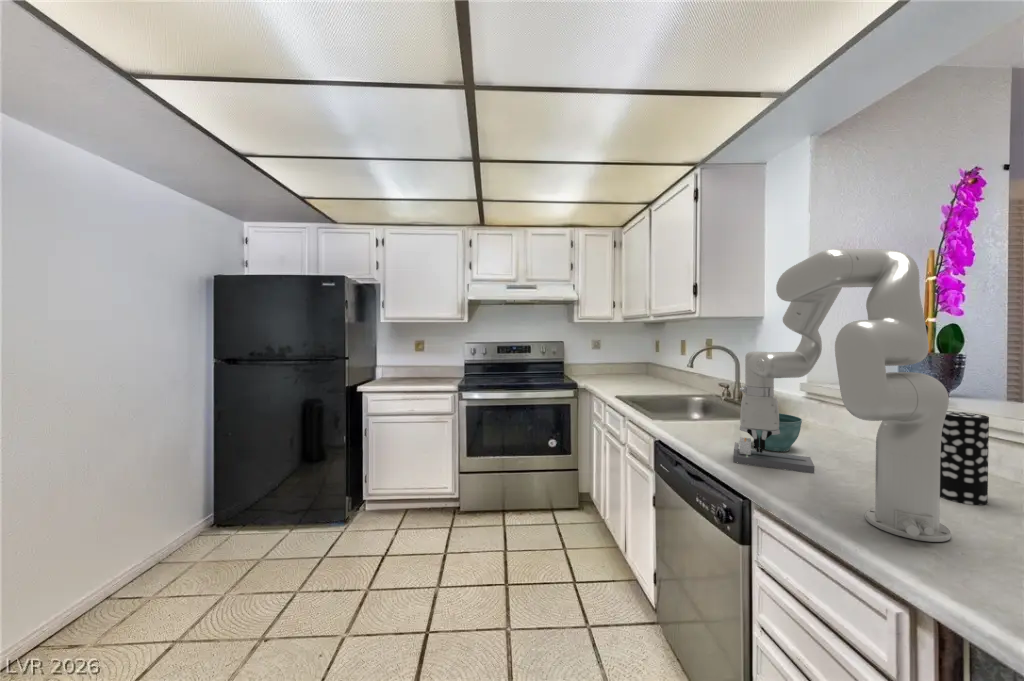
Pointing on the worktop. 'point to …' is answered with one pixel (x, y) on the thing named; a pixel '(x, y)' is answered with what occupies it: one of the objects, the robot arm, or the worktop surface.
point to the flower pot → (783, 433)
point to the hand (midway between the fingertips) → (759, 451)
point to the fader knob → (745, 446)
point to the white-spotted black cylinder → (964, 458)
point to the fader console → (775, 460)
